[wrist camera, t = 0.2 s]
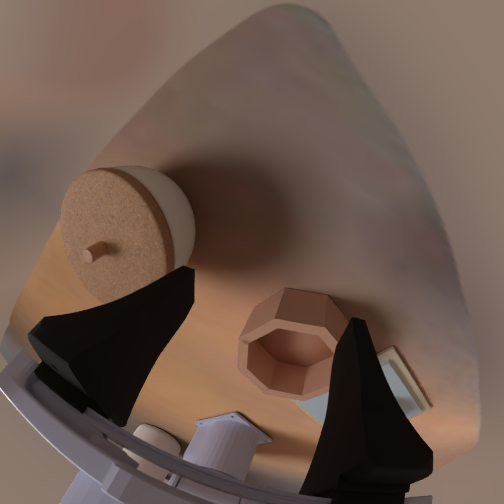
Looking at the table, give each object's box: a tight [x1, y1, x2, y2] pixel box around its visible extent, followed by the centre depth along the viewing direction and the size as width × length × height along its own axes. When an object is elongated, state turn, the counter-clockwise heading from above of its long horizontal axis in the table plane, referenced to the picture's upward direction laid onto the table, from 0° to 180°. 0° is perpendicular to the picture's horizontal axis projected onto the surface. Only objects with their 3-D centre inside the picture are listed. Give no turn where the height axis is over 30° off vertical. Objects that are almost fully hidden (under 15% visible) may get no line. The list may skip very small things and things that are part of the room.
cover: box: [297, 359, 422, 424], centre depth 24 cm, size 11×11×4 cm
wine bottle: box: [122, 424, 181, 482], centre depth 30 cm, size 10×10×30 cm
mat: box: [291, 346, 431, 427], centre depth 26 cm, size 13×13×1 cm
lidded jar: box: [61, 166, 196, 304], centre depth 20 cm, size 11×11×9 cm
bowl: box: [238, 288, 349, 401], centre depth 23 cm, size 9×9×4 cm
